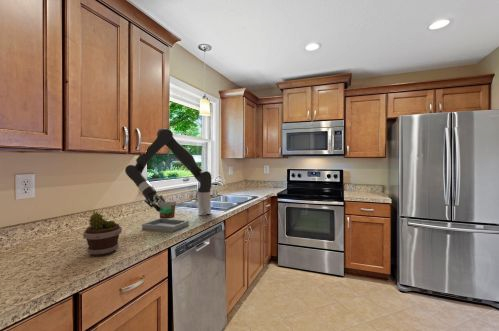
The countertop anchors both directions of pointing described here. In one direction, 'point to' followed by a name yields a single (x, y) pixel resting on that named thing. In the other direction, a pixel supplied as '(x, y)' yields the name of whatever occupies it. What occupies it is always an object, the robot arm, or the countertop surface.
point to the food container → (167, 209)
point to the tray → (165, 225)
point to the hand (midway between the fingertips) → (162, 209)
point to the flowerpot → (102, 235)
